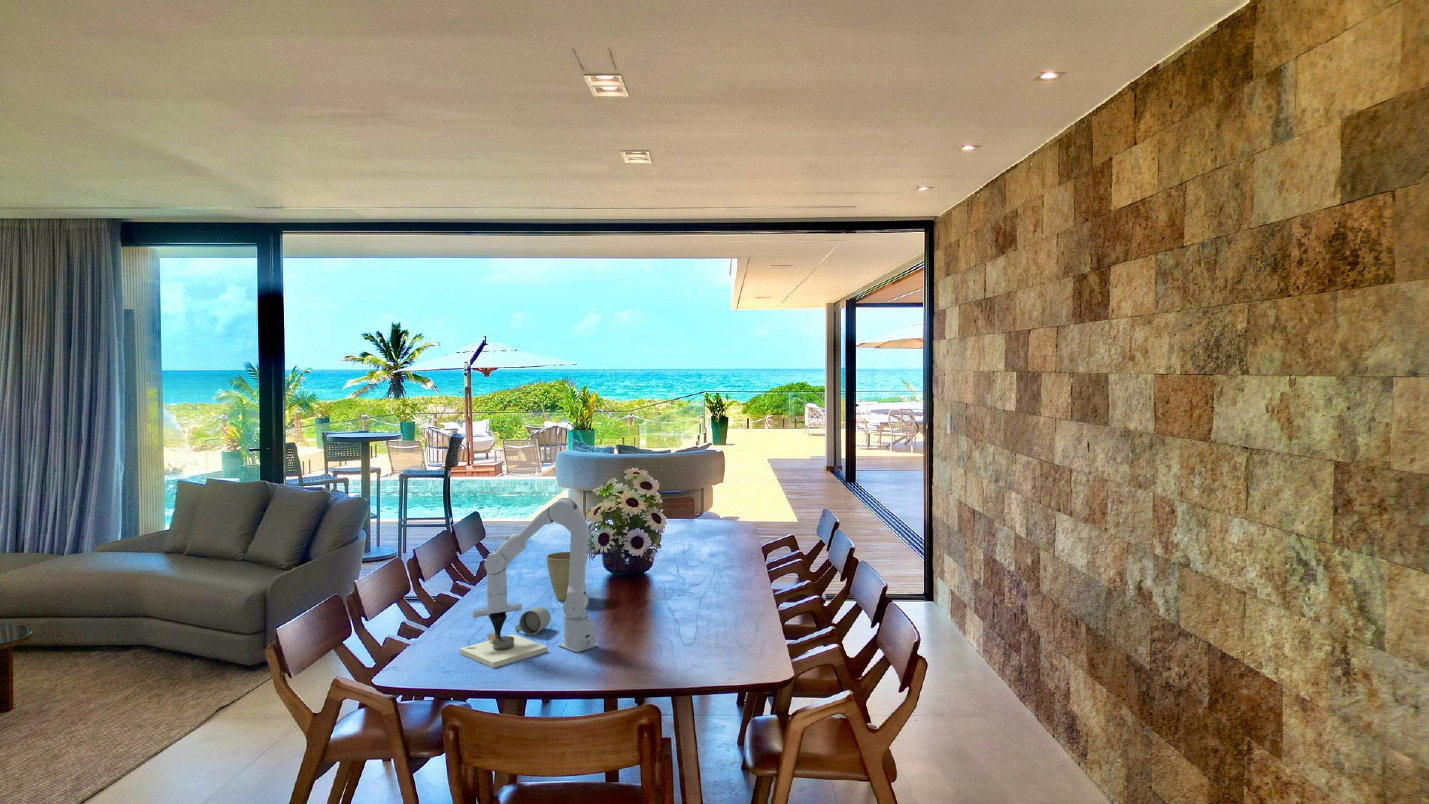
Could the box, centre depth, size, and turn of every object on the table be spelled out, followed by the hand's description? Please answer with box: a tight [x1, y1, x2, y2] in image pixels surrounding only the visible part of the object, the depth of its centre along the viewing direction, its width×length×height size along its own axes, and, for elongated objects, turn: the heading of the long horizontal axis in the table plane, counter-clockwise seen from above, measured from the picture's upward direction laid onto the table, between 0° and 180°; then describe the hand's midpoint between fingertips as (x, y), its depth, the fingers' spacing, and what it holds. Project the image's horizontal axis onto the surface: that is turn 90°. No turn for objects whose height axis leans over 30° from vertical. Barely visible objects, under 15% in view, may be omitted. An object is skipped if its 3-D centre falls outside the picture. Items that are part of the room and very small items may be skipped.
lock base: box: [458, 633, 548, 669], centre depth 226 cm, size 18×18×2 cm
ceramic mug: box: [514, 606, 551, 636], centre depth 247 cm, size 11×8×8 cm
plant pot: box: [545, 551, 588, 602], centre depth 286 cm, size 15×15×16 cm
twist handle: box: [487, 632, 514, 650], centre depth 228 cm, size 11×6×2 cm, turn 43°
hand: (497, 637), depth 232 cm, fingers closed, pressing on twist handle
